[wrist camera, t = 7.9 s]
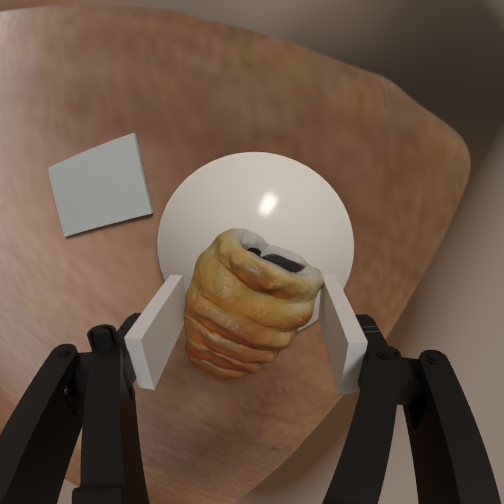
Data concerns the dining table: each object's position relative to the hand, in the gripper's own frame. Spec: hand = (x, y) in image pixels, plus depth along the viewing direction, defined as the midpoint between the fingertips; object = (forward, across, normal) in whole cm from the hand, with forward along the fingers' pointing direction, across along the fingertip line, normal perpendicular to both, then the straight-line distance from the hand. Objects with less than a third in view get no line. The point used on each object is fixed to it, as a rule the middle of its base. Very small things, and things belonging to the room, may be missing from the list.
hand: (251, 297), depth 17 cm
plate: (+8, 0, 0) cm, 9 cm away
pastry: (+1, 0, 0) cm, 1 cm away
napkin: (+8, -14, +6) cm, 18 cm away
